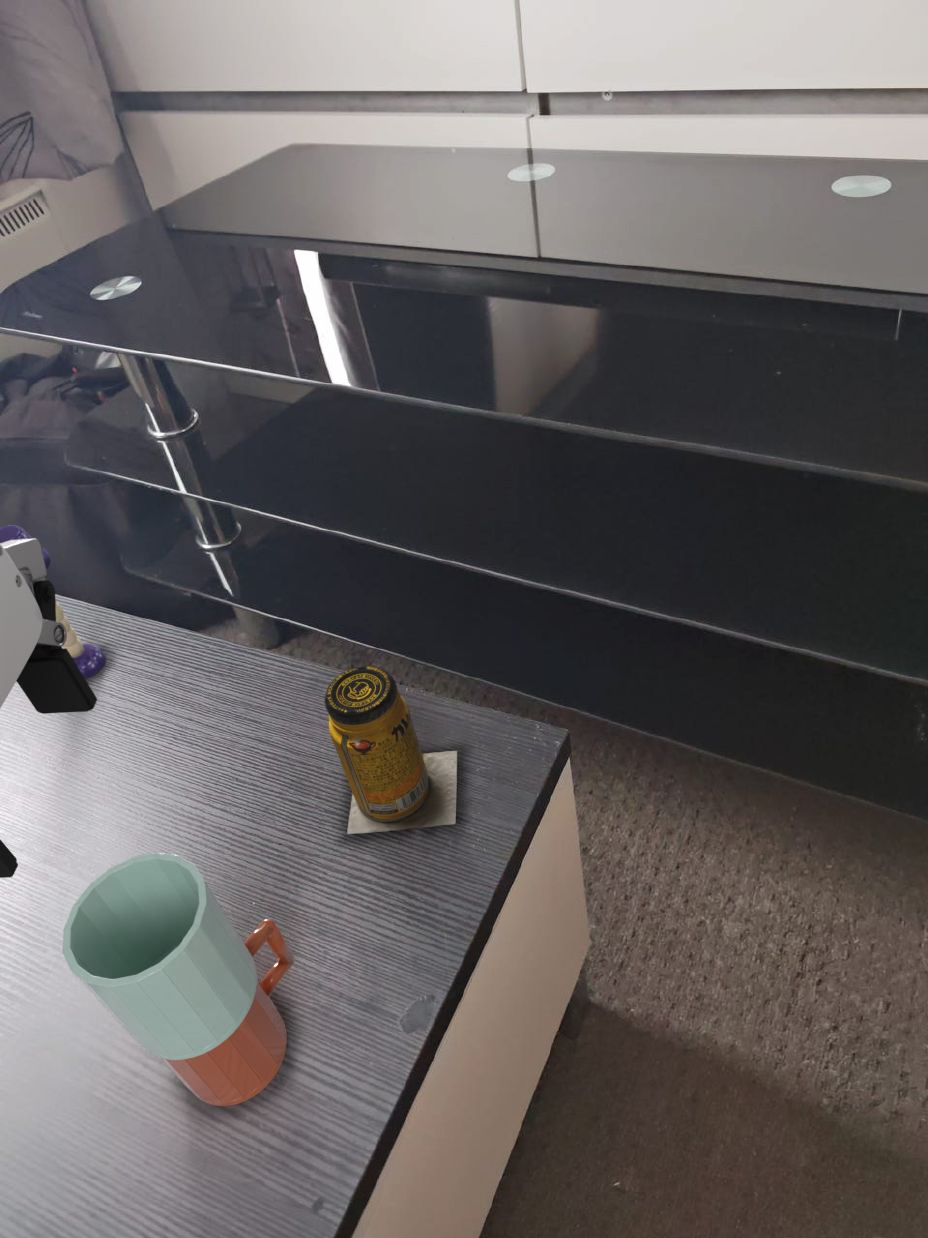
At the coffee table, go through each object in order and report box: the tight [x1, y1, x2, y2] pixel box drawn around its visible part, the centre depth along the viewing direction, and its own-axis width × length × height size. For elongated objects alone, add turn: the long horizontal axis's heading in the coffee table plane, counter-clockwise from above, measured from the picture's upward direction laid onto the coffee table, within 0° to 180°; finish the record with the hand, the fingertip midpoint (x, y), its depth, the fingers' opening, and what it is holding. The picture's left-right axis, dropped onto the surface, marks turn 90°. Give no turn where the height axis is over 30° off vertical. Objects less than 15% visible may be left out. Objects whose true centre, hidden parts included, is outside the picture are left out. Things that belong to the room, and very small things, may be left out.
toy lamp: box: [0, 524, 107, 679], centre depth 85 cm, size 5×5×17 cm
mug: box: [160, 917, 295, 1107], centre depth 58 cm, size 10×7×8 cm
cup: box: [62, 852, 258, 1060], centre depth 51 cm, size 8×8×9 cm
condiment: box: [324, 665, 458, 835], centre depth 69 cm, size 7×8×12 cm
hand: (30, 783), depth 44 cm, fingers open, 9 cm apart
